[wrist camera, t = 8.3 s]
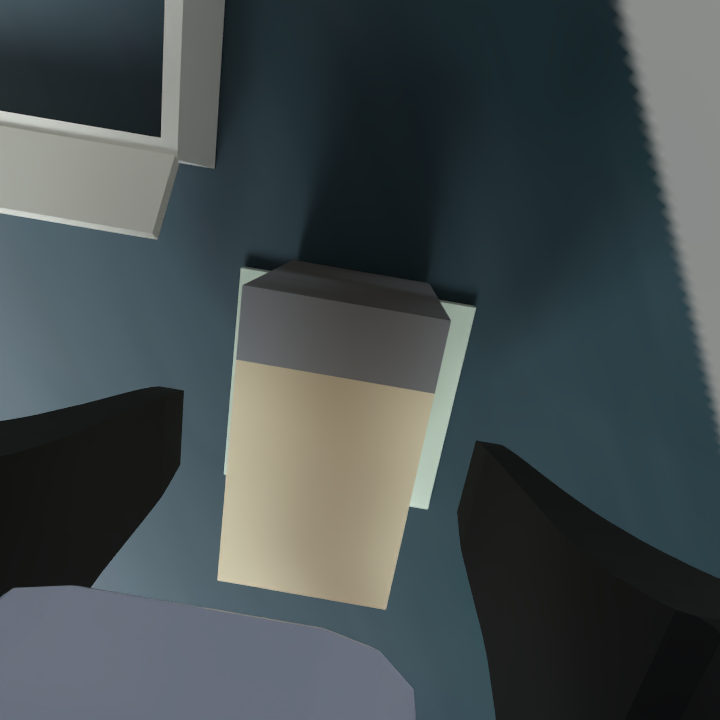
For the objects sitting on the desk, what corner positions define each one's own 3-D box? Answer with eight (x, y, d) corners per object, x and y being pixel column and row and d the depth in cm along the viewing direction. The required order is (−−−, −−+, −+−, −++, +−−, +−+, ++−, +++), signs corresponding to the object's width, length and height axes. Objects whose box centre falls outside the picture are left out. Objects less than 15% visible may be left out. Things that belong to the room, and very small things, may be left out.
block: (268, 469, 16) (217, 580, 11) (293, 259, 14) (242, 285, 9) (386, 489, 16) (386, 609, 11) (429, 283, 14) (451, 320, 9)
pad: (227, 467, 16) (223, 474, 16) (245, 266, 14) (240, 267, 14) (426, 502, 16) (427, 509, 16) (473, 305, 14) (476, 308, 14)
